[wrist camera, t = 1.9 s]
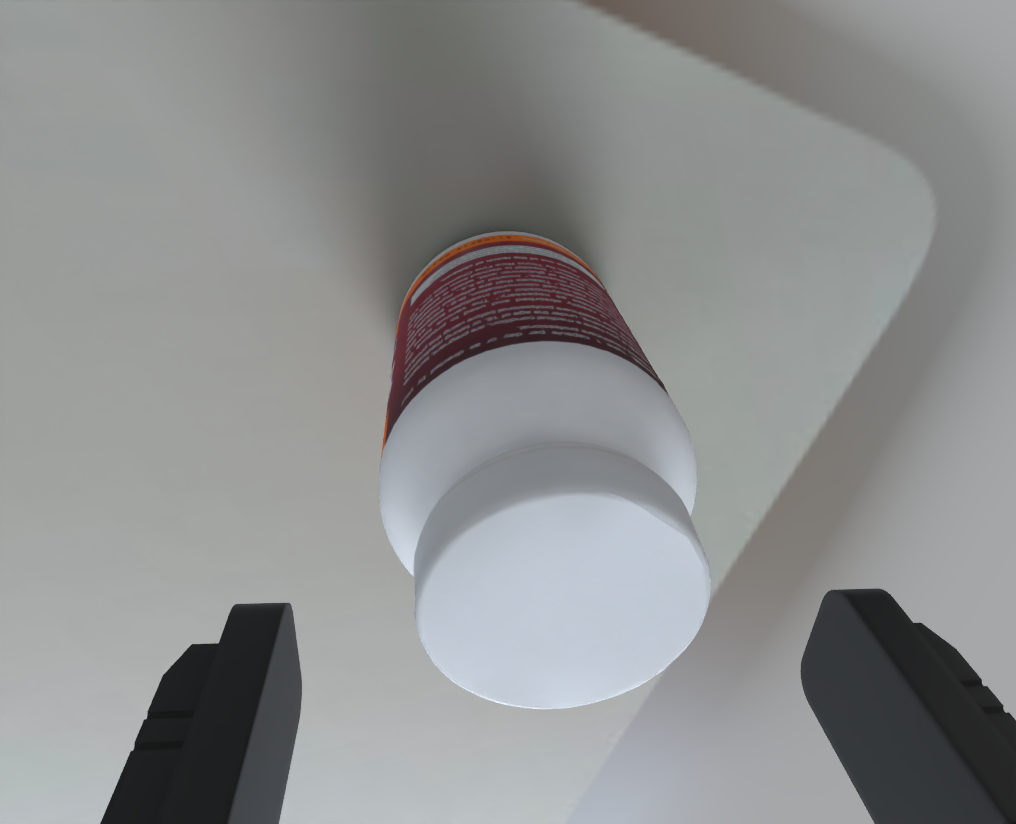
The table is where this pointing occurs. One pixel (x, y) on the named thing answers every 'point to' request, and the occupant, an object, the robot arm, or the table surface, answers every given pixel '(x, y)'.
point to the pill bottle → (537, 480)
